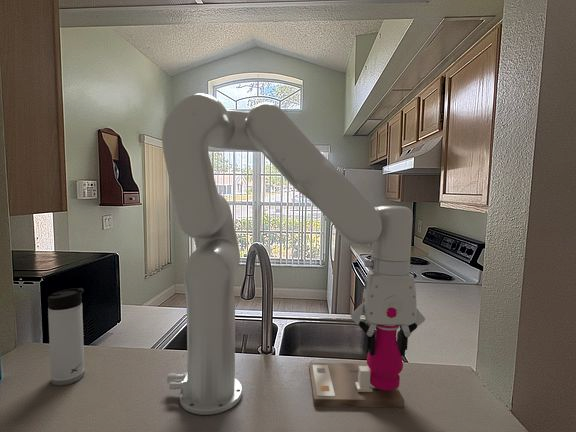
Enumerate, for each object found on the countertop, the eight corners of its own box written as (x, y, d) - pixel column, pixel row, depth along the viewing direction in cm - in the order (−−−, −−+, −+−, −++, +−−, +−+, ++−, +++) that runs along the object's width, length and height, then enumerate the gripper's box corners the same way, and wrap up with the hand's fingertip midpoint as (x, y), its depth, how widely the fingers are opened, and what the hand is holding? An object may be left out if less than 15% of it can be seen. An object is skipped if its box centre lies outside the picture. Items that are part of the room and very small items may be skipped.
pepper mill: (377, 394, 67) (382, 295, 65) (359, 375, 74) (363, 284, 72) (409, 389, 69) (414, 292, 67) (389, 371, 76) (393, 282, 74)
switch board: (314, 406, 68) (314, 398, 68) (309, 368, 82) (309, 362, 82) (404, 407, 68) (404, 399, 68) (383, 369, 82) (384, 363, 82)
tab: (357, 391, 70) (358, 371, 70) (355, 384, 73) (356, 365, 72) (372, 391, 70) (373, 371, 70) (369, 385, 73) (370, 365, 72)
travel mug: (83, 382, 75) (80, 293, 73) (47, 388, 72) (43, 296, 70) (88, 368, 80) (85, 285, 79) (55, 373, 78) (51, 287, 76)
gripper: (351, 270, 65) (347, 360, 67) (440, 272, 66) (434, 362, 67) (344, 261, 73) (341, 343, 74) (424, 263, 73) (419, 345, 75)
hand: (385, 351), depth 71 cm, fingers closed on pepper mill, 5 cm apart
